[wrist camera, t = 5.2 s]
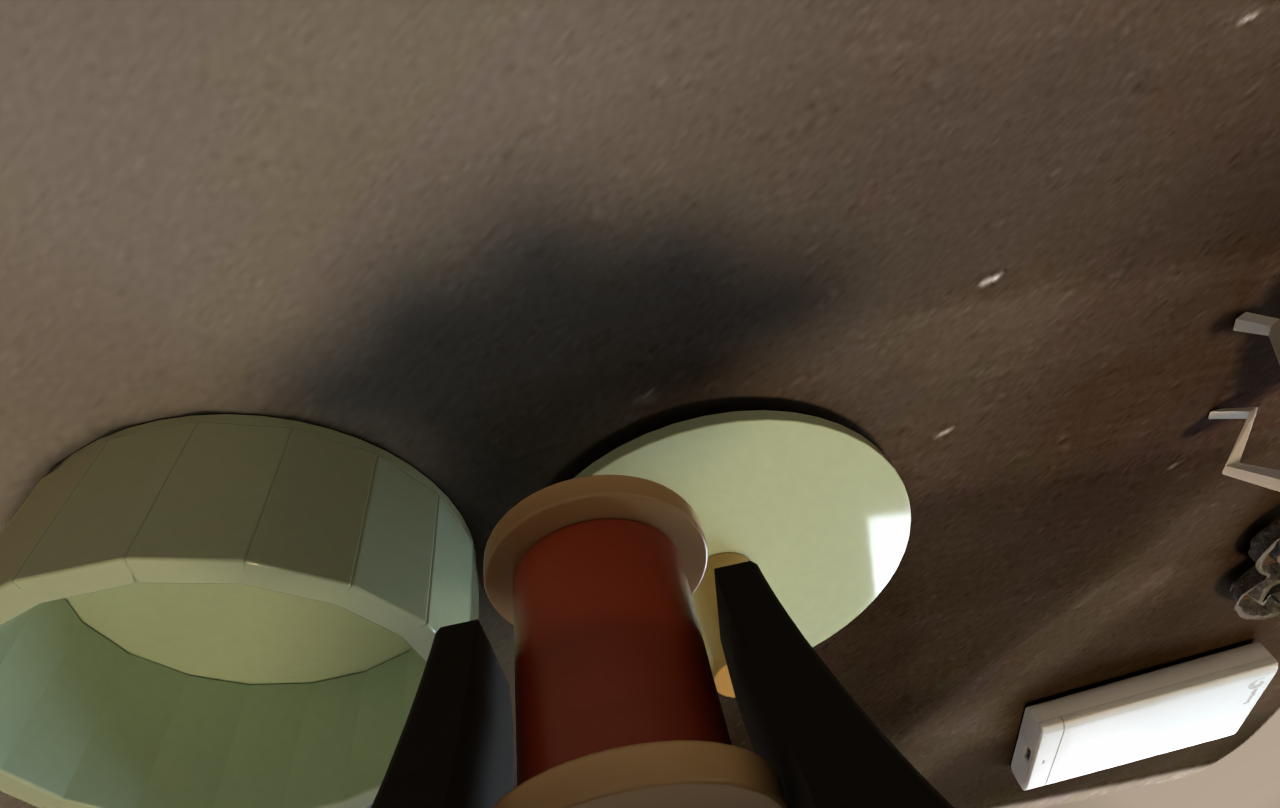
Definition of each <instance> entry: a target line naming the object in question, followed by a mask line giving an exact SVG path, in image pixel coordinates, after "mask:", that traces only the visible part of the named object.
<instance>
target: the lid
mask: <svg viewBox="0 0 1280 808" xmlns="http://www.w3.org/2000/svg"><path fill="white" fill-rule="evenodd" d="M607 474H608V475H626V476H633V477H639V478H643V479H646V480H650V481H653V482H656V483H658V484H661V485H663V486H665V487H667V488H669V489H671V490H672V491H674V492H675V493H677V494H678V495H679V496H681V497H682V498H683V499H684V500H685V501H686V502H687V503H688V504H689V505H690V506H691V507H692V508H693V510H694V511H695V513H696V514H697V516H698V518H699V521H700V523H701V526H702V529H703V532H704V535H705V539H706V543H707V548H708V560H707V566H706V570H705V573H704V576H703V578H702V580H701V582H700V584H699V585H698V587H697V589H696V590H695V591H694V593H693V594H692V599H693V603H694V606H695V610H696V614H697V618H698V621H699V625H700V629H701V633H702V636H703V640H704V644H705V648H706V651H707V655H708V659H709V663H710V666H711V670H712V674H713V678H714V681H715V685H716V689H717V692H718V693H720V694H722V695H724V696H727V697H733V698H735V694H734V690H733V686H732V683H731V679H730V675H729V671H728V667H727V663H726V660H725V656H724V652H723V648H722V644H721V640H720V630H719V619H718V608H717V597H716V586H715V575H714V568H719V567H724V566H728V565H733V564H738V563H742V562H747V561H752V562H754V563H756V564H757V565H758V566H759V568H760V570H761V572H762V574H763V575H764V577H765V579H766V580H767V582H768V584H769V585H770V587H771V589H772V590H773V592H774V593H775V595H776V597H777V598H778V600H779V601H780V603H781V604H782V606H783V607H784V609H785V610H786V612H787V613H788V615H789V616H790V617H791V619H792V620H793V622H794V623H795V624H796V626H797V627H798V629H799V630H800V632H801V633H802V634H803V636H804V637H805V638H806V640H807V641H808V642H809V644H810V645H811V646H812V647H814V646H815V645H817V644H819V643H821V642H822V641H824V640H826V639H827V638H829V637H830V636H832V635H833V634H835V633H836V632H837V631H839V630H840V629H842V628H843V627H845V626H846V625H847V624H848V623H850V622H851V621H852V620H853V619H854V618H856V617H857V616H858V615H859V614H860V613H862V612H863V611H864V610H865V609H866V608H867V606H868V605H869V604H870V603H871V602H872V601H873V600H874V599H875V598H876V597H877V596H878V595H879V594H880V592H881V591H882V590H883V589H884V587H885V586H886V585H887V584H888V582H889V580H890V579H891V577H892V576H893V574H894V572H895V571H896V569H897V568H898V566H899V563H900V561H901V559H902V557H903V555H904V552H905V550H906V546H907V542H908V539H909V535H910V525H911V511H910V502H909V498H908V495H907V492H906V489H905V486H904V483H903V482H902V480H901V478H900V477H899V475H898V473H897V471H896V470H895V468H894V467H893V465H892V464H891V462H890V461H889V460H888V458H887V457H886V456H885V455H884V454H883V453H882V452H881V451H880V450H879V449H878V448H877V447H876V446H875V445H874V444H872V443H871V442H870V441H868V440H867V439H866V438H864V437H863V436H862V435H860V434H858V433H856V432H854V431H852V430H850V429H848V428H846V427H844V426H842V425H840V424H838V423H835V422H832V421H829V420H826V419H823V418H820V417H817V416H811V415H806V414H801V413H795V412H787V411H772V410H751V411H732V412H726V413H719V414H713V415H706V416H701V417H697V418H693V419H689V420H686V421H682V422H678V423H674V424H671V425H668V426H666V427H663V428H660V429H657V430H655V431H652V432H649V433H646V434H644V435H642V436H640V437H638V438H636V439H634V440H632V441H629V442H627V443H625V444H623V445H621V446H619V447H617V448H616V449H614V450H612V451H611V452H609V453H607V454H606V455H604V456H603V457H601V458H599V459H598V460H596V461H595V462H593V463H592V464H590V465H589V466H588V467H587V468H585V469H584V470H583V471H581V472H580V473H579V474H578V475H576V476H575V477H574V478H578V477H585V476H591V475H607ZM574 478H572V479H574Z"/></svg>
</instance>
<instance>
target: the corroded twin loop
mask: <svg viewBox="0 0 1280 808" xmlns="http://www.w3.org/2000/svg"><path fill="white" fill-rule="evenodd" d="M1248 554H1249V557H1250V558H1252V559H1253V560H1254V561H1255V562H1256V564H1255V566H1254V567H1253V568H1250V570H1248V571H1247V572H1246V573H1244V574H1243V575H1242V576H1241V577H1240V578H1239V579H1238V580H1236V581H1234V582H1233V583H1232V584H1231V586H1230V589H1229V590H1230V591H1231V592H1232V593H1233V597H1234V599H1235V600H1236V601H1237V604H1236V606H1235V607H1234V610H1235V611H1237V613H1238V615H1239V616H1240V617H1242V618H1244V619H1246V620H1247V619H1254V620H1260V619H1261V620H1264V619H1269V618H1272V617H1276V616H1278V615H1280V519H1279V520H1278V522H1277V523H1274V524H1272V525H1269V526H1268V527H1266V528H1264V529H1263V530H1262V531H1260V532H1259V533H1258V534H1257V535H1255V536H1254V538H1253V539H1252V540H1251V544H1250V550H1249V551H1248ZM1247 573H1249V574H1248V575H1247V576H1246V577H1245V575H1246V574H1247ZM1244 577H1245V578H1244ZM1243 578H1244V579H1243Z"/></svg>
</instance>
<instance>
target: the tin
mask: <svg viewBox="0 0 1280 808" xmlns="http://www.w3.org/2000/svg"><path fill="white" fill-rule="evenodd" d="M478 610H479V581H478V574H477V558H476V549H475V546H474V542H473V539H472V536H471V533H470V531H469V529H468V527H467V525H466V523H465V521H464V519H463V517H462V515H461V514H460V512H459V511H458V510H457V508H456V507H455V506H454V504H453V503H452V502H451V501H450V499H449V498H448V497H447V496H446V495H445V494H444V493H443V492H442V491H441V490H440V489H439V488H438V487H437V486H436V485H435V484H434V483H433V482H432V481H431V480H430V479H428V478H427V477H426V476H424V475H423V474H422V473H420V472H419V471H418V470H416V469H415V468H414V467H412V466H411V465H409V464H408V463H406V462H404V461H403V460H401V459H399V458H397V457H396V456H394V455H392V454H391V453H389V452H387V451H385V450H383V449H381V448H379V447H376V446H374V445H372V444H370V443H367V442H365V441H363V440H361V439H358V438H355V437H353V436H350V435H347V434H344V433H341V432H338V431H335V430H332V429H329V428H325V427H321V426H316V425H312V424H308V423H304V422H300V421H295V420H288V419H281V418H274V417H267V416H256V415H237V414H214V415H192V416H185V417H178V418H171V419H163V420H158V421H154V422H150V423H146V424H142V425H138V426H134V427H130V428H127V429H124V430H121V431H119V432H116V433H114V434H111V435H108V436H106V437H103V438H101V439H98V440H97V441H95V442H93V443H91V444H89V445H88V446H86V447H84V448H82V449H80V450H79V451H77V452H75V453H73V454H72V455H71V456H70V457H68V458H67V459H66V460H65V461H63V462H62V463H61V464H59V465H58V466H57V467H56V468H54V469H53V470H52V472H51V473H50V474H48V475H47V476H45V477H44V478H42V479H41V480H40V481H39V482H38V484H37V485H36V486H35V488H34V489H33V490H32V492H31V493H30V494H29V496H28V497H27V498H26V500H25V501H24V502H23V504H22V505H21V506H20V508H19V509H18V510H17V512H16V513H15V514H14V516H13V517H12V518H11V520H10V521H9V523H8V524H7V525H6V527H5V528H4V529H3V531H2V532H1V533H0V791H1V792H3V793H6V794H8V795H10V796H13V797H15V798H17V799H19V800H22V801H24V802H26V803H29V804H31V805H33V806H35V807H38V808H365V807H367V806H369V805H372V804H373V802H374V799H375V797H376V795H377V793H378V790H379V788H380V786H381V783H382V781H383V779H384V776H385V774H386V771H387V769H388V766H389V764H390V761H391V758H392V756H393V753H394V751H395V748H396V746H397V743H398V741H399V738H400V736H401V733H402V731H403V728H404V726H405V723H406V720H407V717H408V715H409V712H410V709H411V706H412V704H413V701H414V698H415V695H416V692H417V690H418V687H419V684H420V681H421V678H422V675H423V672H424V669H425V666H426V663H427V659H428V656H429V653H430V650H431V647H432V643H433V640H434V637H435V633H436V632H437V631H438V630H439V628H440V627H444V626H449V625H453V624H458V623H463V622H467V621H472V620H477V619H478Z"/></svg>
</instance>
